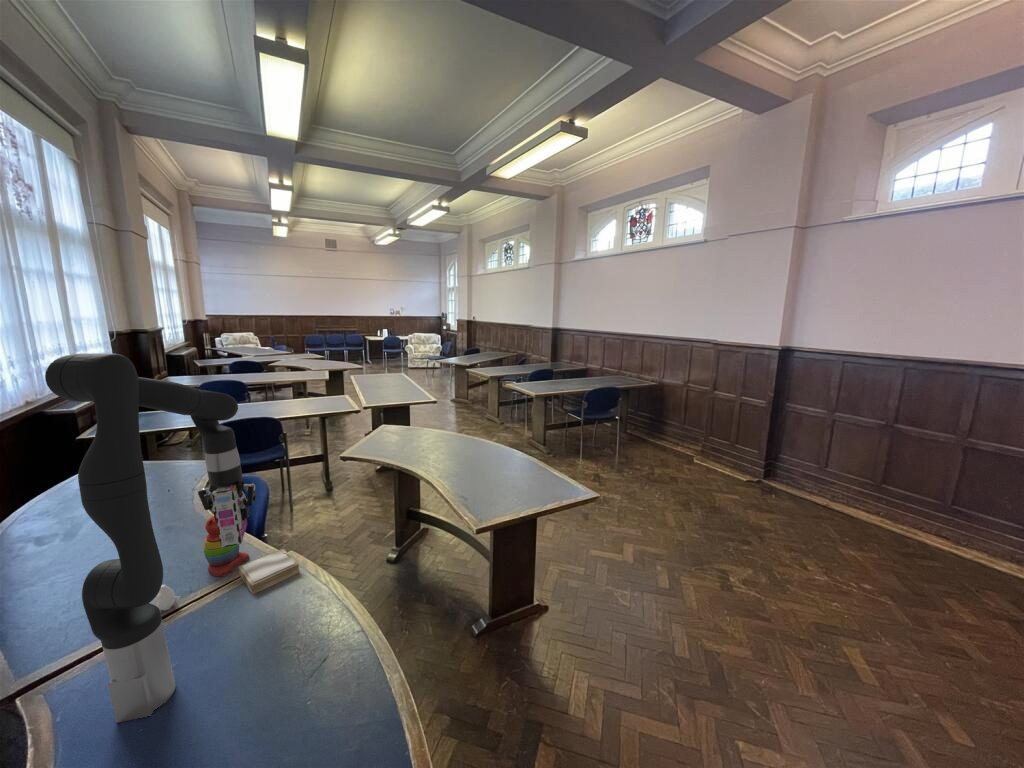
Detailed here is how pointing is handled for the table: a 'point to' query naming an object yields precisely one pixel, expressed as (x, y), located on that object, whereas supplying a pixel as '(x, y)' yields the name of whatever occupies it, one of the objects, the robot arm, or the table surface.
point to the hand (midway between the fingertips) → (233, 519)
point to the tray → (268, 570)
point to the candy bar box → (228, 515)
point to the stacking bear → (220, 552)
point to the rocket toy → (165, 598)
